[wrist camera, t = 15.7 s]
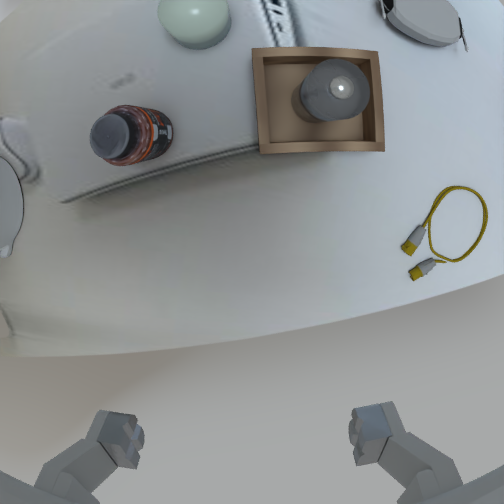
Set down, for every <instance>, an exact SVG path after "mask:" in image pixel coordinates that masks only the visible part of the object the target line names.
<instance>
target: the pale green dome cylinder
mask: <svg viewBox="0 0 504 504" xmlns="http://www.w3.org/2000/svg"><path fill="white" fill-rule="evenodd" d="M157 13H158V18H159V21H160V23H161V24H162V26H163V27H164V28H165V29H166V30H167V31H168V32H169V33H170V34H171V35H172V36H173V37H174V39H175V40H176V41H177V42H178V43H179V44H181V45H182V46H184V47H186V48H189V49H197V50H199V49H206V48H210V47H212V46H214V45H216V44H218V43H219V42H221V41H222V40H223V39H224V38H225V37H226V35H227V34H228V32H229V30H230V27H231V17H230V12H229V8H228V3H227V0H160V3H159V5H158V12H157Z"/></svg>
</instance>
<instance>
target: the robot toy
mask: <svg viewBox="0 0 504 504" xmlns="http://www.w3.org/2000/svg"><path fill="white" fill-rule="evenodd" d="M379 1H380V4H381V9H382V14H383V15H382V17H383V19H385V18H386V14H387V18H388V19H389V21H390V22H391V23H392V24H393V25H394V26H395V27H396V28H397V29H399V30H400V31H402V32H403V33H405V34H407V35H408V36H410V37H412V38H414V39H416V40H418V41H420V42H422V43H426V44H430V45H435V46H442V47H445V46H448V45H451V44H453V43H455V42H458V39H460V38H461V37H462V38H463V42H464V45H465V50H466V51H467V52H468V50H469V49H468V47H467V44H466V40H465V37H464V34H463V32H464V30H463V28H462V24H461V20H460V18H459V17H458V12H457V11H456V10H455V8H454V7H453V6H452V5H451V4H450V3H449V2H448V1H447V0H379ZM385 13H386V14H385Z"/></svg>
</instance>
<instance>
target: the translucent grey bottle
mask: <svg viewBox="0 0 504 504" xmlns="http://www.w3.org/2000/svg"><path fill="white" fill-rule="evenodd" d="M369 98H370V87H369V83H368V80H367V78H366V76H365V75H364V73H363V72H362V71H361V70H360V69H359V68H358V67H357V66H356V65H354V64H353V63H351V62H349V61H346V60H342V59H329V60H325V61H323V62H321V63H319V64H318V65H317V66H316V67H315V68H314V69H313V70H312V71H311V72H310V73H309V74H308V75H307V76H306V77H305V78H304V79H303V80H302V81H301V83H300V84H299V85H298V86H297V87H296V88H295V89H294V91H293V93H292V97H291V103H292V108H293V110H294V112H295V113H296V114H297V116H298V117H300V118H301V119H302V120H304V121H306V122H310V123H321V122H328V121H336V120H344V119H350V118H353V117H355V116H357V115H359V114H360V113H361V112H362V111H363V110H364V109H365V108H366V106H367V104H368V102H369Z"/></svg>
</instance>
